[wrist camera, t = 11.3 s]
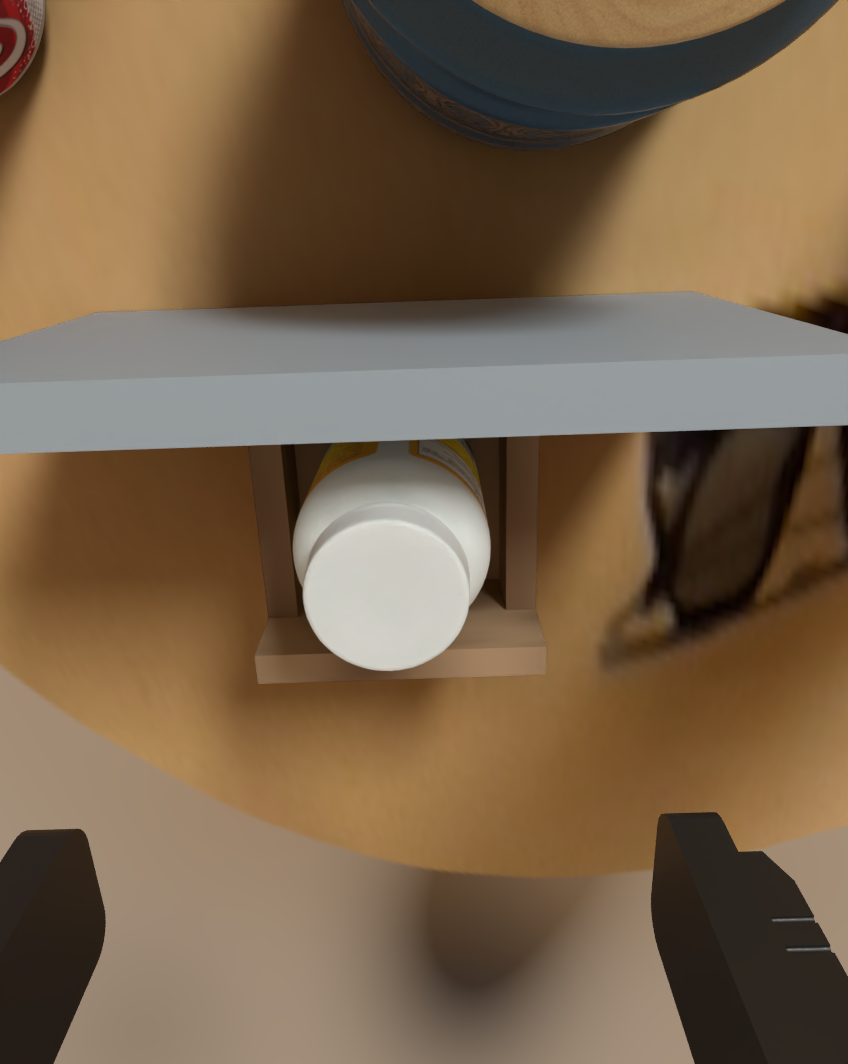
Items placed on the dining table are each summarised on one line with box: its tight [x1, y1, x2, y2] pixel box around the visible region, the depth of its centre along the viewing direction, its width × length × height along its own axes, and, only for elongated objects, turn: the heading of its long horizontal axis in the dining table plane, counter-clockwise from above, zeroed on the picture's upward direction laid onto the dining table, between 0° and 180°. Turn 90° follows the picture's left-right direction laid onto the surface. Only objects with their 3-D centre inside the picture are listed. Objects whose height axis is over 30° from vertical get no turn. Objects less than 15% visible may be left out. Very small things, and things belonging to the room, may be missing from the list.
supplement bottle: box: [293, 438, 491, 671], centre depth 23 cm, size 5×5×10 cm
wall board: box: [0, 292, 848, 454], centre depth 23 cm, size 22×2×14 cm, turn 92°
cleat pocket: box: [248, 436, 547, 684], centre depth 28 cm, size 9×9×9 cm
